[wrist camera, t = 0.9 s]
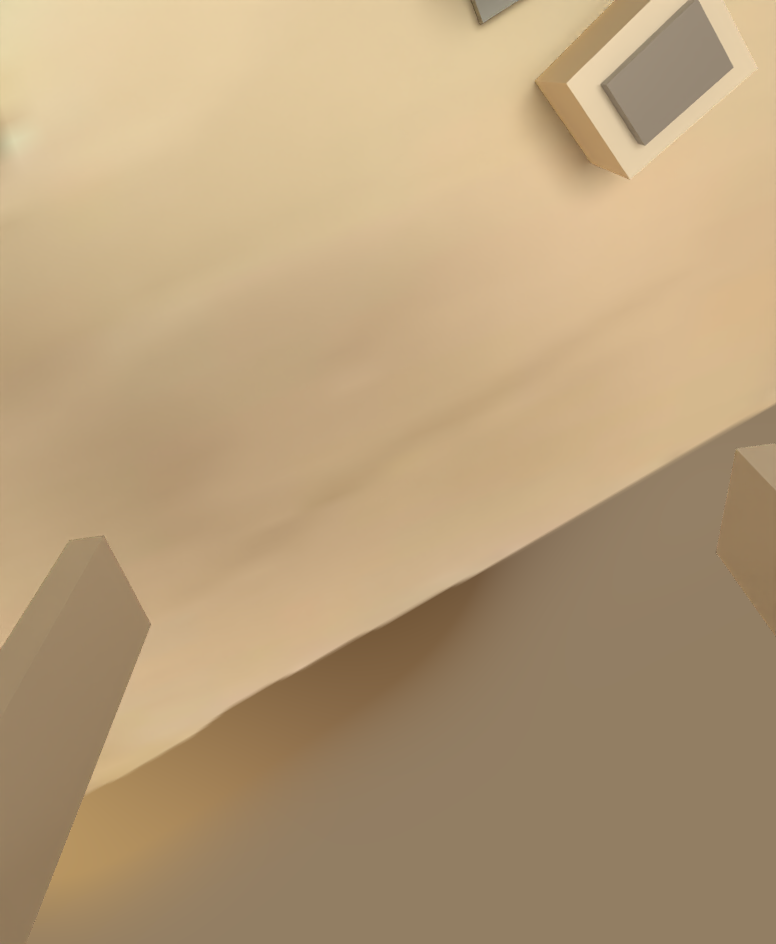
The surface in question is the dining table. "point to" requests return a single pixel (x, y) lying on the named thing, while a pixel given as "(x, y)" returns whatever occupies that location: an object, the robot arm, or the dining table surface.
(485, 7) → the rail board
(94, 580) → the robot arm
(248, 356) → the dining table surface
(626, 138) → the block
